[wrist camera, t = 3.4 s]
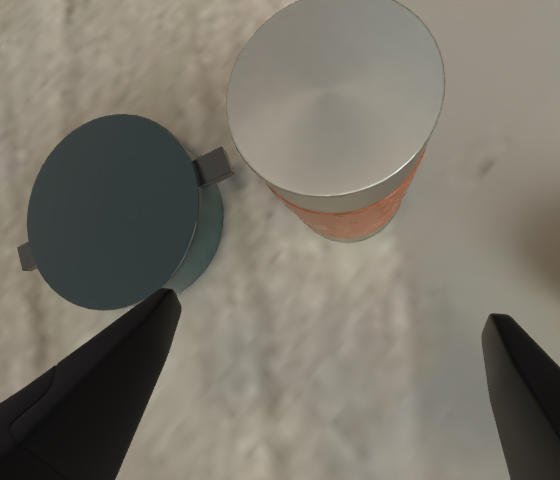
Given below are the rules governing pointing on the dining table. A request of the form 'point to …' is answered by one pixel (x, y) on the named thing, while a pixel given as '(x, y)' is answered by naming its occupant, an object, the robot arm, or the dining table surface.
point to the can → (337, 109)
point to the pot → (123, 213)
